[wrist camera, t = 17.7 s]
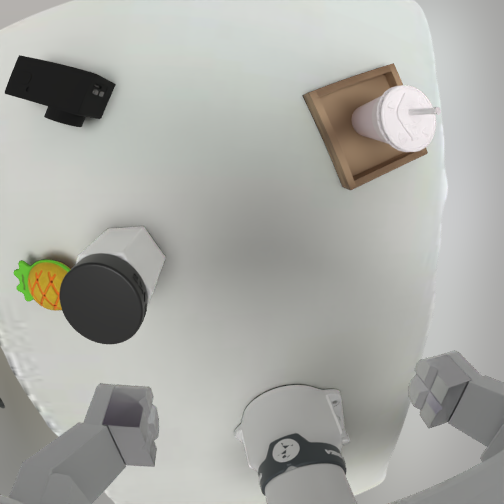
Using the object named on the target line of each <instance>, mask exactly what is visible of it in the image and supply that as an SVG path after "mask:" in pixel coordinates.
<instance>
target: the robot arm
mask: <svg viewBox="0 0 504 504" xmlns="http://www.w3.org/2000/svg"><path fill="white" fill-rule="evenodd" d="M415 372H416V375H415V376H414V377H413V378H412V379H411V381H410V384H409V387H408V392H409V398H410V401H411V403H412V404H413V406H414V407H416V408H418V409H420V410H421V411H420V416H421V418H422V419H423V421H424V422H425V423H426V425H427V427H428V428H432V427H434V426H437V425H441V424H444V423H446V422H448V423H449V424H451V425H452V426H454V427H455V428H457V429H459V430H460V431H462V432H464V433H465V434H467V435H468V436H470V437H472V438H473V439H475V440H477V441H479V442H480V443H482V444H483V445H485V446H487V448H486V449H485V451H484V452H483V454H482V455H481V458H480V459H481V461H482V463H480V464H478V465H476V466H474V467H472V468H470V469H469V470H467V471H465V472H463V473H461V474H459V475H457V476H455V477H453V478H450V479H448V480H446V481H444V482H442V483H440V484H437V485H435V486H433V487H431V488H428V489H426V490H423V491H421V492H418V493H416V494H413V495H410V496H408V497H405V498H402V499H400V500H397V501H394V502H391V503H388V504H504V382H501V381H499V380H496V379H493V378H491V377H488V376H482V375H480V374H479V372H478V371H477V370H476V369H475V368H474V367H473V366H472V365H471V364H470V363H469V362H468V361H467V360H466V359H465V358H464V357H463V356H462V355H461V354H460V353H459V352H457V351H452V352H448V353H445V354H441V355H438V356H433V357H430V358H426V359H421V360H420V361H419V362H418V363H417V364H416V367H415ZM152 402H153V393H152V390H151V388H150V387H145V386H129V385H111V384H102V383H100V384H99V385H98V386H97V388H96V390H95V393H94V396H93V398H92V401H91V403H90V406H89V409H88V412H87V414H86V417H85V420H84V423H77V424H76V425H75V426H73V427H72V428H70V429H69V430H68V431H66V432H65V433H63V434H62V435H61V436H59V437H58V438H57V439H55V440H54V441H52V442H51V443H49V444H48V445H47V446H45V447H44V448H42V449H41V450H40V451H38V452H37V453H35V454H34V455H32V456H31V457H30V458H28V459H27V460H25V461H24V462H23V463H22V465H21V467H20V470H19V472H18V475H17V478H16V480H15V483H14V485H13V488H12V491H11V493H10V497H6V496H4V495H1V494H0V504H92V503H93V502H94V501H95V500H96V499H97V498H98V497H99V496H100V495H101V494H102V493H103V491H104V490H105V489H106V488H107V487H108V486H109V485H110V484H111V483H112V482H113V480H114V479H115V478H116V477H117V476H118V475H119V474H120V473H121V472H122V470H123V469H124V468H125V467H126V465H133V466H152V467H154V466H155V458H156V450H157V448H156V446H155V442H154V440H155V439H157V438H158V433H159V418H158V412H157V408H156V407H155V406H154V405H153V404H152ZM234 435H235V438H236V439H237V440H239V441H240V442H242V443H243V444H244V448H245V452H246V457H247V461H248V465H249V467H250V468H252V469H253V470H255V471H257V472H258V475H259V485H260V487H261V490H262V493H263V494H264V495H265V496H266V501H267V504H357V502H356V500H355V498H354V495H353V493H352V490H351V488H350V485H349V483H348V480H347V478H346V467H345V461H344V458H343V457H342V445H345V444H348V443H349V442H350V440H349V436H348V434H347V432H346V431H345V426H344V417H343V408H342V399H341V394H340V391H339V390H336V389H326V390H321V389H317V388H314V387H311V386H305V385H289V386H283V387H279V388H276V389H273V390H270V391H268V392H265V393H264V394H262V395H260V396H258V397H257V398H256V399H254V400H253V401H252V402H251V403H250V404H249V405H248V406H247V408H246V409H245V411H244V414H243V418H242V422H241V424H240V425H239V426H238V427H237V428H236V430H235V431H234Z"/></svg>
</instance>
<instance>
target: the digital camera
mask: <svg viewBox="0 0 504 504" xmlns="http://www.w3.org/2000/svg"><path fill="white" fill-rule="evenodd" d="M114 87H115V84H114V83H112V82H110V81H108V80H106V79H105V78H103V77H101V76H99V75H97V74H95V73H92V72H88V71H84V70H81V69H77V68H73V67H69V66H65V65H61V64H57V63H53V62H48V61H44V60H39V59H35V58H30V57H25V56H20V55H19V57H18V59H17V62H16V64H15V66H14V69H13V71H12V74H11V76H10V79H9V82H8V84H7V87H6V90H5V94H8V95H12V96H15V97H19V98H22V99H26V100H29V101H33V102H36V103H39V104H43V105H46V106H48V108H47V111H46V114H45V116H44V117H46V118H48V119H50V120H53V121H56V122H60V123H63V124H67V125H71V126H76V127H82V124H83V122H84V119H85V116H86V117H92V118H98V119H100V118H102V115H103V113H104V110H105V108H106V105H107V103H108V101H109V98H110V96H111V94H112V91H113V89H114Z"/></svg>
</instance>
